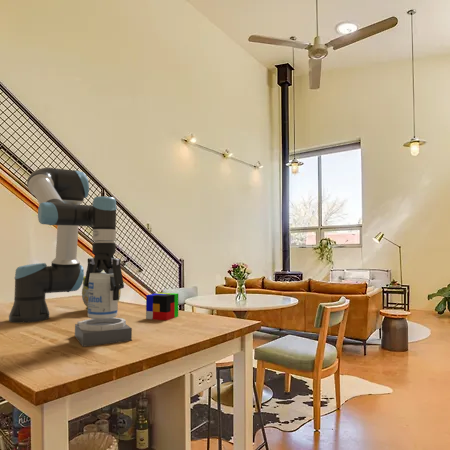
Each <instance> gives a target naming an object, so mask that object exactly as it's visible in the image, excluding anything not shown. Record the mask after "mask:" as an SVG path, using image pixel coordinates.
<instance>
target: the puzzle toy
mask: <svg viewBox="0 0 450 450" xmlns="http://www.w3.org/2000/svg"><path fill="white" fill-rule="evenodd" d="M145 296H146V297H145V298H146V299H145V300H146V301H145V319H146V320H154V321H155V320H157V321H170V320H172V319H175V318H177V317H179V293H174V292H173V293H171V292H155V293H151V294H147V295H145Z"/></svg>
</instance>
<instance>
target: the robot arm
mask: <svg viewBox="0 0 450 450" xmlns="http://www.w3.org/2000/svg"><path fill="white" fill-rule="evenodd" d="M26 187H27V190H28V191H29V193H30V194H31V195H33V196H34V197H35V198H36V201H37V202H38V204H39V205H38V209H37V210H38V211H37V219H38V223H40V225H48V226H57V229H56V231H57V232H56V243H55V245H56V247H55V248H56V249H55V258H54V259H52V261H51V265H47V263H46V262H40V263H31V264H24V265H21V266H18V267H16V269H15V275H14V299H13V300H14V301H13V304H12V307H11V310H10V313H9V314H8V322H10V323H13V324H21V323H22V324H23V323H36V322H37V323H38V322H41V321H45V320H46V321H47V320H49V319H50V311H49V310H50V309H49V307H48V305H47V302H46V294H53V293H55V294H56V293H71V292H76V291H78V290H79V289H80V288H81V287H82V286H83V278H84V276H85V282H84V286H86V287H87V288H88V289H89V283H88V282H89V277H90V273H101V272H103V271H104V272H106V274H114V277H111V276H110V285H111V288H112V289H111V291H110V311H114V310H117V311H118V310H119V308H118V307H119V305H118V303H119V301H120V299H119V290H120V289H124V287H125V285H124V284H125V283H124V278H123V272H122V268H121V262H122V261H121V260H122V259H121V258H115V256H114V254H116V250H117V248H116V243H115V242H116V241H117V230H116V229H117V200H116V199H115V197H112V196H95V197H94V198H93V201H92V204H91V205H90V204H83V203H84V199H87V198H88V196H89V193H90V183H89V178H88V176H87V175H86V173H85V172H84V171H80V170H76V169H75V170H74V169H64V168H55V167H42V168H38V169H37V170H35V171H33V172H31V173H30V174H29V176H28V178H27V180H26ZM79 227H89V228H92V242H93V243H92V247H91V248H92V249H91V250H92V251H91V252H92V254H93V255H94V256H93V258H92V257H88V258H87V268H86V271H85V272H84V266H83V265H82V264H81V262H80V260H79V259H78V258H77V257H78V256H77V255H78V239H79ZM119 284H120V285H119ZM118 300H119V301H118Z"/></svg>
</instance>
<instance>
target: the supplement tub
mask: <svg viewBox="0 0 450 450" xmlns="http://www.w3.org/2000/svg"><path fill="white" fill-rule="evenodd" d="M110 276H111V277H114V274H106V272H105V271H104V272H103V271H102V272H101V273H90V277H89V289H88V311H87V317H88V318H89V319H109V318H117V316H118V310H114V311H110V291H111V289H112V288H111V285H110Z"/></svg>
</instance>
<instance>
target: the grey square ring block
mask: <svg viewBox="0 0 450 450" xmlns="http://www.w3.org/2000/svg"><path fill="white" fill-rule="evenodd" d="M126 320H127V319H125V318H120V317H113V318H109V319H91V318H89V319H84V320H81V321H77V323H75V325H74V337H75V338H76V340H77V341H78V342H79V344H80V345H81V346H82V347H83V348H84V347H90V346H91V347H92V346H99V345H108V344H115V343H122V342H123V343H124V342H131V341H132V337H133V334H132V332H133V331H132V330H133V329H132V327H131V326H129V325H128V324H126V323H127V322H126Z"/></svg>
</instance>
